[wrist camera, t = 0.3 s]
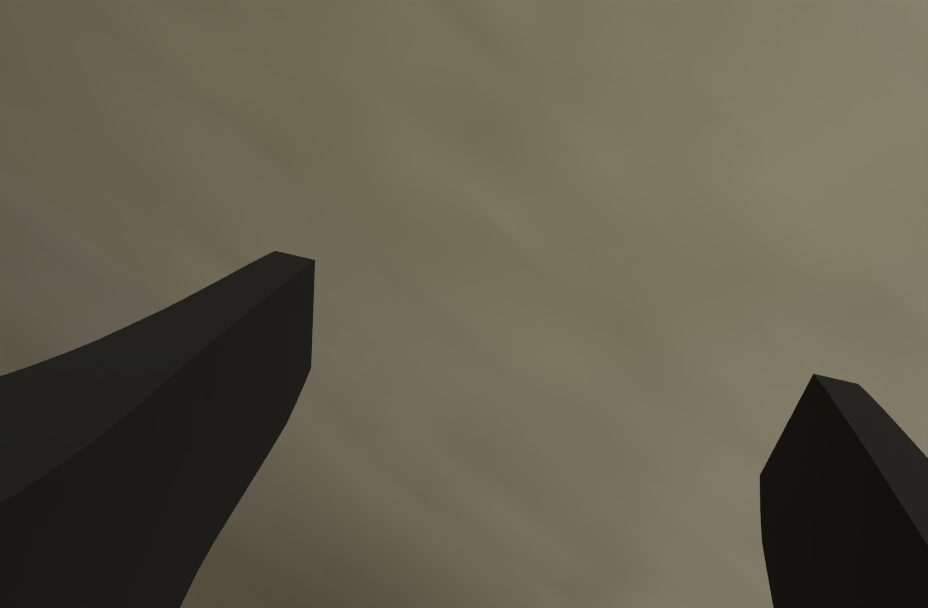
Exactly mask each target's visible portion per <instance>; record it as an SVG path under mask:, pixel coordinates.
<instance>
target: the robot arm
mask: <svg viewBox="0 0 928 608" xmlns="http://www.w3.org/2000/svg"><path fill="white" fill-rule="evenodd" d="M314 272H315V260H312V259H308V258H304V257H299V256H295V255H291V254H286V253H282V252H277V251H274V252H272V253H270V254H268V255H266V256H264V257H262V258H260V259H258V260H256V261H254V262H252V263H250V264H248V265H247V266H245V267H243V268H241V269H239V270H237V271H235V272H234V273H232V274H230V275H228V276H226V277H224V278H223V279H221V280H219V281H217V282H215V283H213V284H211V285H210V286H208V287H206V288H204V289H202V290H200V291H198V292H196V293H194V294H192V295H190V296H189V297H187V298H185V299H183V300H181V301H179V302H177V303H175V304H173V305H171V306H169V307H167V308H165V309H163V310H161V311H159V312H157V313H155V314H153V315H151V316H148V317H146V318H144V319H142V320H140V321H138V322H136V323H133V324H131V325H129V326H127V327H125V328H123V329H120V330H118V331H116V332H114V333H112V334H110V335H108V336H105V337H103V338H101V339H99V340H96V341H94V342H92V343H89V344H87V345H84V346H82V347H79V348H77V349H74V350H72V351H69V352H67V353H64V354H62V355H59V356H56V357H54V358H51V359H48V360H45V361H43V362H40V363H37V364H34V365H32V366H29V367H26V368H24V369H21V370H18V371H15V372H12V373H9V374H6V375H2V376H0V608H180V606H181V604H182V602H183V600H184V598H185V596H186V594H187V592H188V590H189V588H190V586H191V583H192V581H193V579H194V577H195V575H196V573H197V571H198V569H199V568H200V566H201V564H202V562H203V560H204V559H205V557H206V555H207V553H208V552H209V550H210V548H211V546H212V544H213V543H214V541H215V539H216V538H217V536H218V535H219V533H220V531H221V530H222V528H223V527H224V525H225V523H226V522H227V520H228V518H229V517H230V515H231V514H232V512H233V510H234V509H235V507H236V506H237V504H238V502H239V501H240V499H241V497H242V496H243V494H244V493H245V491H246V489H247V488H248V486H249V484H250V483H251V481H252V480H253V478H254V476H255V475H256V473H257V472H258V470H259V468H260V467H261V465H262V463H263V462H264V460H265V459H266V457H267V455H268V454H269V452H270V450H271V449H272V447H273V445H274V444H275V442H276V440H277V439H278V437H279V435H280V434H281V432H282V430H283V429H284V427H285V425H286V424H287V421H288V419H289V417H290V415H291V413H292V411H293V408H294V406H295V404H296V402H297V400H298V397H299V395H300V393H301V390H302V388H303V386H304V383H305V381H306V379H307V376H308V374H309V372H310V369H311V354H312V327H313V300H314ZM760 512H761V531H762V544H763V550H764V556H765V562H766V568H767V573H768V579H769V585H770V590H771V596H772V601H773V607H774V608H928V458H927V457H926V456H925V455H924V453H923V452H922V451H921V450H920V449H919V448H918V447H917V446H916V445H915V443H914V442H913V441H912V440H911V439H910V438H909V437H908V436H907V435H906V434H905V432H904V431H903V430H902V429H901V428H900V427H899V426H898V425H897V424H896V422H895V421H894V420H893V419H892V418H891V417H890V416H889V415H888V414H887V413H886V412H885V411H884V409H883V408H882V407H881V406H880V405H879V404H878V403H877V402H876V401H875V400H874V399H873V398H872V397H871V396H870V395H869V394H868V393H867V392H866V391H865V390H864V389H863V388H862V387H861V386H860V385H859V384H856V383H851V382H847V381H843V380H838V379H834V378H829V377H825V376H821V375H816V374H813V376H812V378H811V380H810V381H809V383H808V385H807V387H806V389H805V391H804V393H803V395H802V397H801V399H800V400H799V402H798V404H797V406H796V408H795V410H794V412H793V414H792V416H791V417H790V419H789V421H788V423H787V425H786V427H785V429H784V431H783V433H782V435H781V436H780V438H779V440H778V442H777V444H776V446H775V448H774V450H773V452H772V453H771V455H770V457H769V459H768V461H767V463H766V465H765V467H764V469H763V471H762V472H761V474H760Z"/></svg>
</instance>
